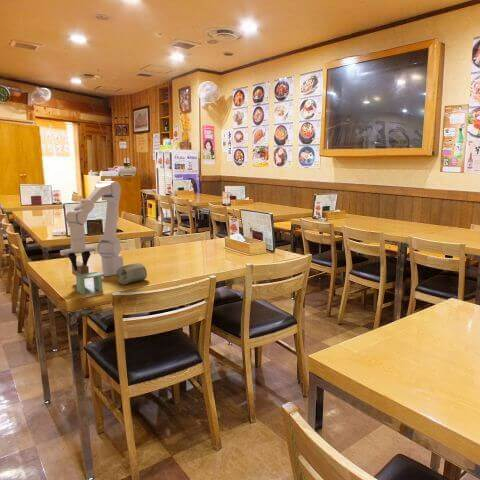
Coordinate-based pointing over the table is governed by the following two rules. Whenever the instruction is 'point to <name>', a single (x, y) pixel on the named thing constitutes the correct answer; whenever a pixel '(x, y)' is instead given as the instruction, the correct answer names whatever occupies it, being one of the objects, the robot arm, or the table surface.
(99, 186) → the robot arm
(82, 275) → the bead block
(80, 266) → the tall brown box
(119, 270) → the spool
